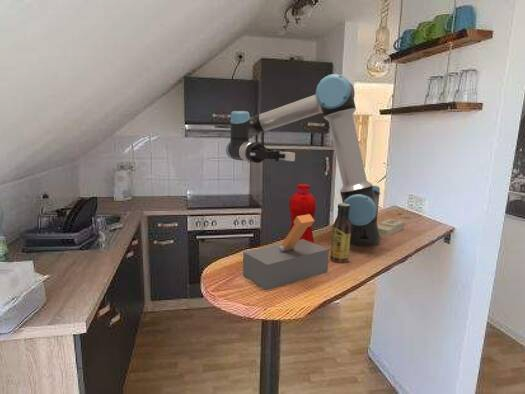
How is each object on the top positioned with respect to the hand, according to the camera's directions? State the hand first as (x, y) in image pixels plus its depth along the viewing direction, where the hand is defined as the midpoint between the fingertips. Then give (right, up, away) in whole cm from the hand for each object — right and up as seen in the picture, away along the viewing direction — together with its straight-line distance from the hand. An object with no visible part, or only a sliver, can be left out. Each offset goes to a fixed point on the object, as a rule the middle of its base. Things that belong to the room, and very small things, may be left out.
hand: (293, 157), depth 115 cm
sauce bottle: (+16, -35, +5) cm, 39 cm away
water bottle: (+4, -33, +13) cm, 36 cm away
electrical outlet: (+47, -29, +42) cm, 70 cm away
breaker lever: (-3, -29, -9) cm, 30 cm away
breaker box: (-3, -37, -7) cm, 38 cm away
